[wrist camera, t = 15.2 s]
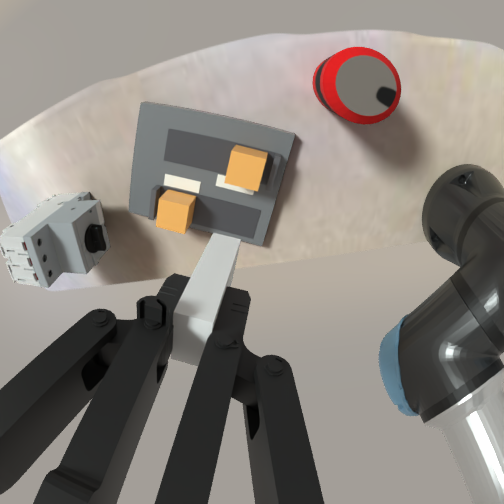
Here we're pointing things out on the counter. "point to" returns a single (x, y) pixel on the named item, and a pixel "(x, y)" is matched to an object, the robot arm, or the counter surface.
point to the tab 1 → (175, 211)
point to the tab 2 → (245, 167)
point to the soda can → (358, 85)
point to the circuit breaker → (55, 239)
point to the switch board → (206, 168)
